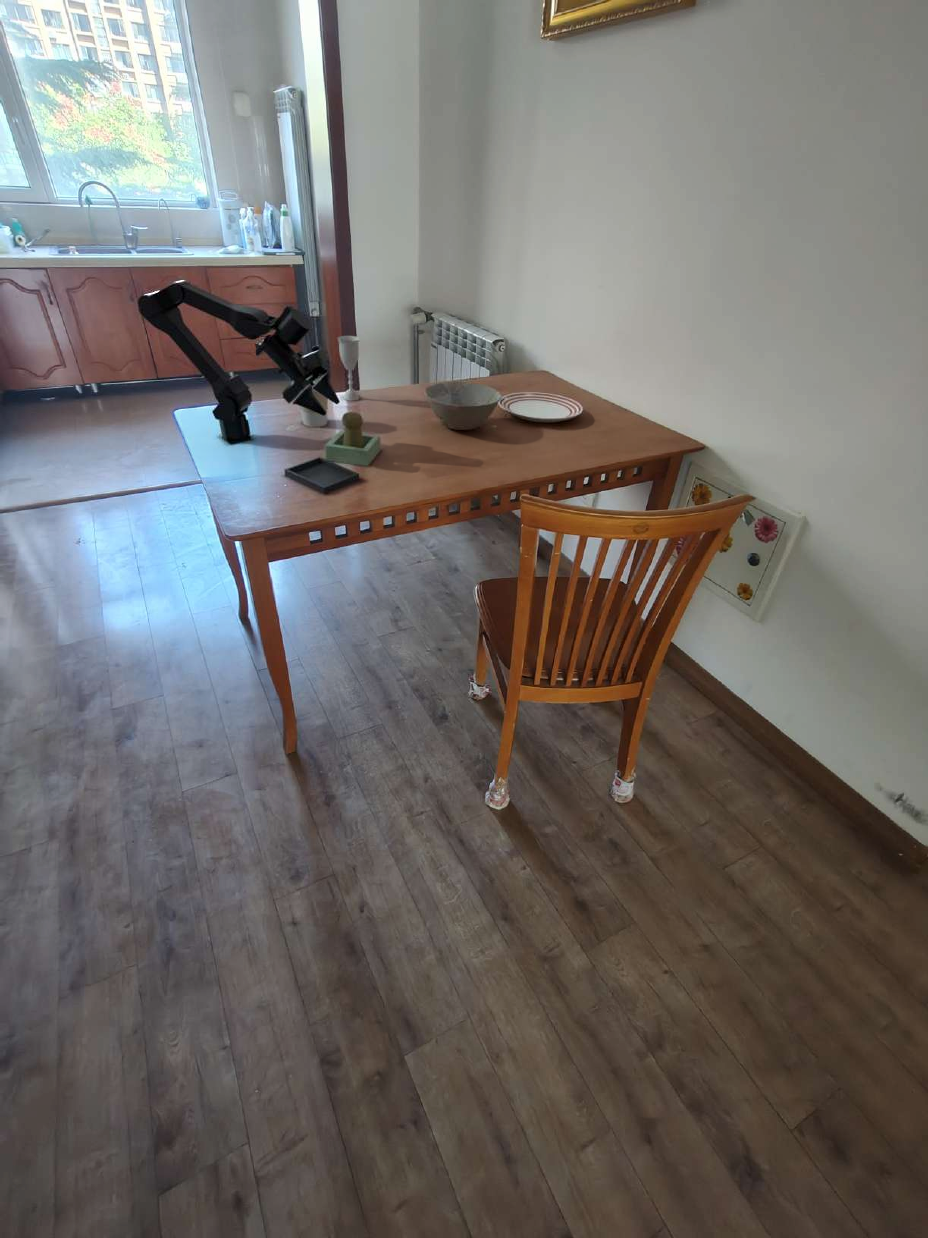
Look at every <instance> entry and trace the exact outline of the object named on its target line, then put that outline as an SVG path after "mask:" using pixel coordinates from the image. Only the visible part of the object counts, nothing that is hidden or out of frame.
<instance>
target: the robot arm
mask: <svg viewBox="0 0 928 1238" xmlns="http://www.w3.org/2000/svg"><path fill="white" fill-rule="evenodd" d="M183 304H186V305H187V306H189V307H192V308H195V309H196V310H198V311H201V312H203V313H205V314H207V315H209V316H212V317H215V318H216V319H217V320H221V321H222V322H224V323H227V324H228V325H229V326H230V327H231V328H232V329H233V330H234V331H235V332H237V333H238V334H240V335H241V336H243V337H245V339H246V340H247V339H248V340H250V341H254V340H257V339H260V338H262V337H264V336H265V337H264V338H263V339H262V341H257V342H256V343H254V346H255V356H256V357H259V356H260V355H263V354H266V356H268V358H269V359H270V360H271V361H272V362H273V363H274V364H275V365H276V366H277V367H278V369H279V370H277V372H278V373H279V375H283V374H284V375H285V376H286V377H287V378H288V379H289V381H290V383H289V384H288V385H287V386H286V388H285V389H284V390H283V391H282V398H283V399H284V401H285V402H286V403H287V404H291V403H292V405H297V406H299V407H300V406H302V407H304V408H307V409H309V410H312V411H314V412H316V413H318V414H321V415H323V416H325V415H326V414H327V415H328V411H327V412H326V411H325V409H324V408H323V407H322V405H321V404H320V403H319V401H318V400H317V399H316V397H315V396H314V395H313V392H312V386H314V385H315V386H314V387H313V389H314V390H316V391H317V392H319V393H320V394H322V395H323V396H325V397H326V398H327V399H328V401H331V402H332V403H333V404H335V405H339V404H340V402H341V401H340V399H339V397H338V395H337V393H336V390H335V389H334V387H333V385H332V382H331V374H332V371H331V369H332V367H331V366H330V365H329V364H328V363H327V362H329V361H330V360H329V358H328V350H327V349H325V347H324V346H322V345H321V344H320V343H318V344H316V345H314V346H312V347H311V352H309V353H307V354H305V353H304V352H303V351H296V349H294V348H293V347H292V346H297V345H298V344H299V343H300V342H302V340H303V339H304V338H305V337H306V336H307V334H309V332H310V331H311V329H312V328H313V325H312V323H311V320H310V318H309V317H308V316H307V315H306V314H305V313H302V312H301V311H300V310H298V309H296V308H294V307H293V305H292V304H289V305H286V307H284V309H283V310H282V312H281V314H280V316H279V317H276V316H273V315H269V314H268V313H267V312H266V310H263V309H261V308H257V307H253V306H248V305H240V304H235V303H233V302H231V301H228V300H226V299H224V298H222V297H220V296H218V295H216V294H214V293H211V292H209V291H207V290H205V289H203V288H201V287H198V286H195V285H194V284H191V282H189V281H188V280H184V279H183V280H178V281H174V282H171V283H170V285H168V286H166V287H164V288H162V289H161V290H156V291H154V292H150V293H149V292H148V293H146V294H142V295H140V296H139V297H138V299H137V307H138V308H137V309H138V313H139V314H140V315H141V316H142V318H143V319H144V320H146V321H147V322H148V323H149V324H150V325H151V326H152V327H153V328H155V329H157V330H159V331H160V332H162V333H164V334H166V335H167V336H168V337H169V338H170V339H171V340H172V342H174V344H175V345H176V346H177V347H178V348H179V350H180V351H181V352H182V353H183V354H184V355H185V356H186V358H187V359H188V360H189V361H190V363H192V365H193V366H194V367H195V368H196V369H197V371H198V372H199V373H200V374H201V375H202V377H204V378H205V380H206V381H207V382H208V383H209V384H210V386H211V389H212V392H213V395H214V398H215V400H216V401H217V402H218V404H216V406H215V407H214V409H213V410H212V411H211V412H212V414H213V417H214V419H215V420H218V423H219V427H220V434H219V437H220V438H221V439H222V440H224V441H225V442H226V443H227V444H235V443H241V442H245V441H250V440H253V437H252V436H251V427H250V422H249V419H247V415H246V414H245V413H247V412H248V410H249V407H250V406H251V404H252V402H253V395H252V392H251V391H250V390H249V389H250V386H249V385H247V384H246V382H244V380H243V379H242V378H241V376H240V375H239V374H236V375H234V376H232V375H230V374H228V373H227V372H226V371H225V370H224V369H223V367H222V366H221V365H220V364H219V363H218V362H217V361H216V359H215V358H214V357H213V356H212V355H211V354H210V352H209V351H208V350H207V349H206V347H205V346H204V345H203V344H202V342H200V340H199V339H198V338H197V336H196V335H195V333H193V332H192V331H191V329H190V328H189V327H188V326H187V324H185V321H184V318H183V315H182V312H181V309H180V308H179V307H180V306H181V305H183ZM274 331H275V332H274ZM272 332H274V333H273V334H269V333H272ZM291 345H292V346H291ZM308 385H310V386H309V387H307V386H308Z"/></svg>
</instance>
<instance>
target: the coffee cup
mask: <svg viewBox="0 0 928 1238" xmlns="http://www.w3.org/2000/svg"><path fill="white" fill-rule="evenodd" d="M309 386H310V385H308V386H307V387H309ZM314 386H315V385H314ZM314 386H312V392H313V395H314V396H315V397H316V399H317V400H318V401H319V403H320V404H321V405H322V407H323V408H324V409H325V411H326V412H327V414H326V415H325V416H323V415H321V414H318V413H316V412H314V411H312V410H309V409H307V408H304V407H302V406H299V409H300V411H301V417H302V423H303V425H305V426H307V427H312V428H320V427H324V426H327V424H328V407H329V406H328V403H329V399H327V398H326V397H325V396H323V395H322V394H320V393H319V392H317V391H316V390H314V389H313V387H314Z"/></svg>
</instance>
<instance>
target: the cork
mask: <svg viewBox="0 0 928 1238" xmlns="http://www.w3.org/2000/svg"><path fill="white" fill-rule="evenodd" d="M363 422H364V419H363V417H362V415H361V414H360V413H358V412H355V411H347V412H345V413H344V414H343V415H342V417H341V423H342V425H343V427H344V428H343V431H344V441H343V446H349V447H357V448H364V443H363V437H362V433H363V432H362V426H363Z"/></svg>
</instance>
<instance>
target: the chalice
mask: <svg viewBox="0 0 928 1238" xmlns="http://www.w3.org/2000/svg"><path fill="white" fill-rule="evenodd" d="M337 341H338V345H339V347H338V349H339V357H340V360H341V362H342V364H343V366H344V369H345V370H347V371H348V375H347V378H348V381H347V384H348V386H349V388H348V389H347V390H346V391H345V393H344V396H343V399H344V400H345V401H350V402H351V401H352V402H353V401H358V400H360V397H359V393H358V392H357V390H355V389H354V388H353V384H354V381H353V378H354V375H353V373H352V372H353V371H354V370H355V368H356V365H357V363H358V360H359V356H360V351H359V349H360V348H359V342H360V337H358V336H355V335H341V336H337Z"/></svg>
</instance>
